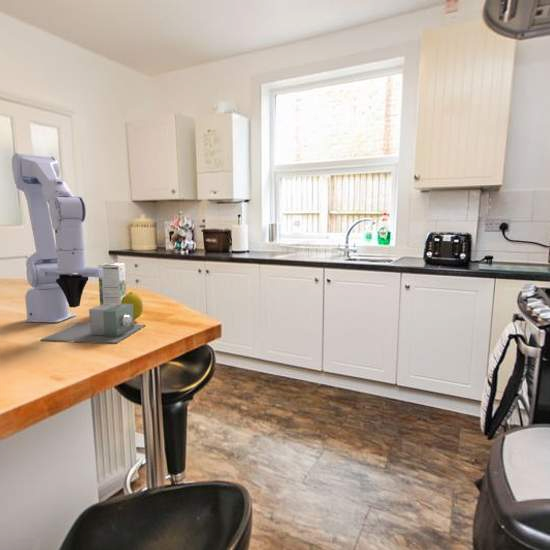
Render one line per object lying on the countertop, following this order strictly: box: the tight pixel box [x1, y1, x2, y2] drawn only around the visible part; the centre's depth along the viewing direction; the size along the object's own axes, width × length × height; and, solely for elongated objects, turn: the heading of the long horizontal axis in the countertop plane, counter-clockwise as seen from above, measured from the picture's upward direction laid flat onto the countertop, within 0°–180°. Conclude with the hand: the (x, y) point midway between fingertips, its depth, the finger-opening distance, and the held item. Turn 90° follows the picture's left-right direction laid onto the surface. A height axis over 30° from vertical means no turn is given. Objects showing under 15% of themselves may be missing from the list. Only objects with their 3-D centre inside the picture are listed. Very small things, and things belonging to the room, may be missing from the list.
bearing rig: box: [103, 304, 135, 338], centre depth 90 cm, size 8×8×6 cm
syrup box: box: [97, 262, 127, 305], centre depth 109 cm, size 6×6×14 cm
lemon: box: [121, 291, 144, 321], centre depth 101 cm, size 6×6×8 cm
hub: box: [88, 304, 119, 335], centre depth 90 cm, size 4×6×6 cm, turn 174°
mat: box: [40, 322, 146, 344], centre depth 91 cm, size 18×14×1 cm
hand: (74, 306), depth 91 cm, fingers closed
